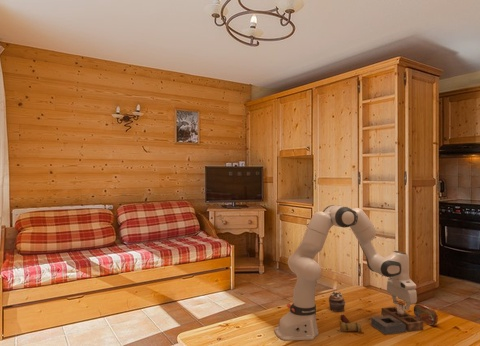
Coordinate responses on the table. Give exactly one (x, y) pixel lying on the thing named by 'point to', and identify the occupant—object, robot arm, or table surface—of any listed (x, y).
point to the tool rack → (404, 319)
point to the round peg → (401, 308)
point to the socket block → (388, 324)
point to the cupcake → (336, 302)
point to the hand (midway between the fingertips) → (401, 306)
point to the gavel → (349, 325)
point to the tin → (425, 314)
